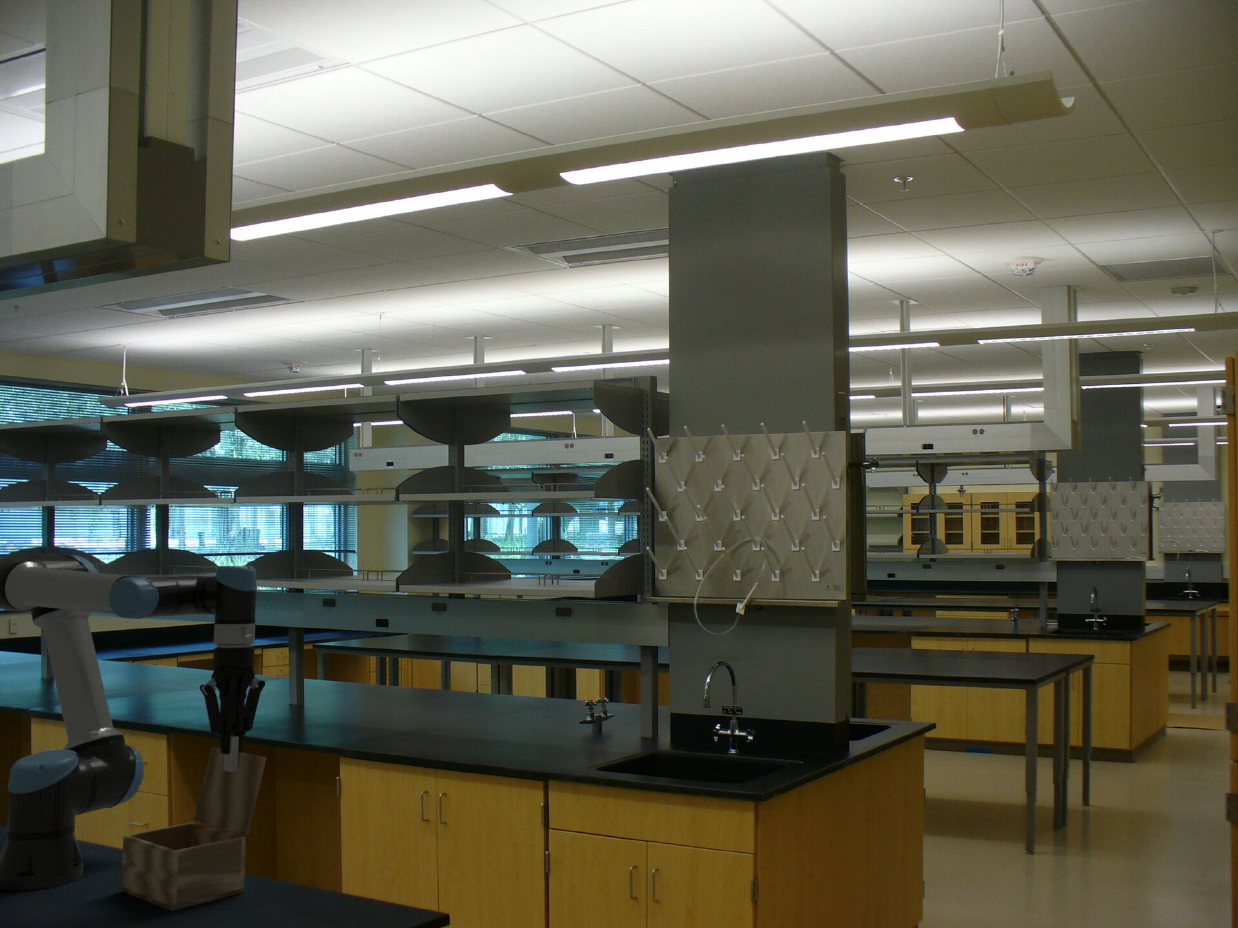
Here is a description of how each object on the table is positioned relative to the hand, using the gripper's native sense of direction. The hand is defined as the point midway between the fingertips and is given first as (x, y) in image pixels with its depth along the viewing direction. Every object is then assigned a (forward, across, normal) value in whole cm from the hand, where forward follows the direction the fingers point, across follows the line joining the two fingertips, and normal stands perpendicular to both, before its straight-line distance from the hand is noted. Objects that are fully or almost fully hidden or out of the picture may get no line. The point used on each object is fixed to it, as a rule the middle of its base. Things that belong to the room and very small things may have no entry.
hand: (230, 770), depth 215 cm
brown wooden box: (+21, -9, 0) cm, 22 cm away
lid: (+3, 0, 0) cm, 4 cm away
